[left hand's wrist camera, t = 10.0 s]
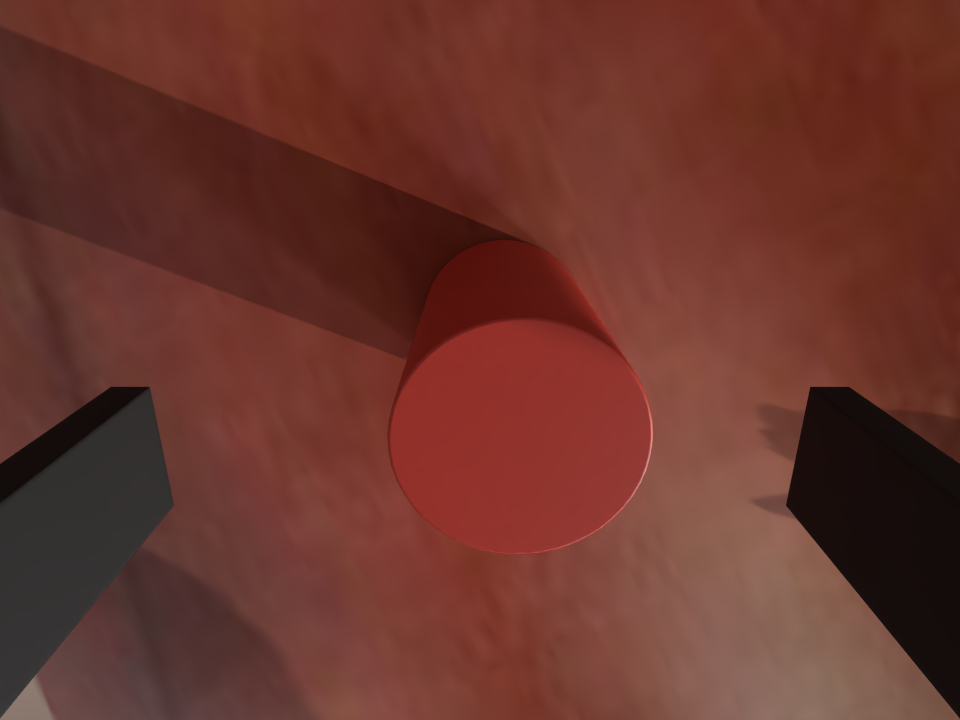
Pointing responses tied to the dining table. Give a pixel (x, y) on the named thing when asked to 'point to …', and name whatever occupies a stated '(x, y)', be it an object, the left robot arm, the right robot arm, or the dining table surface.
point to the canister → (516, 407)
